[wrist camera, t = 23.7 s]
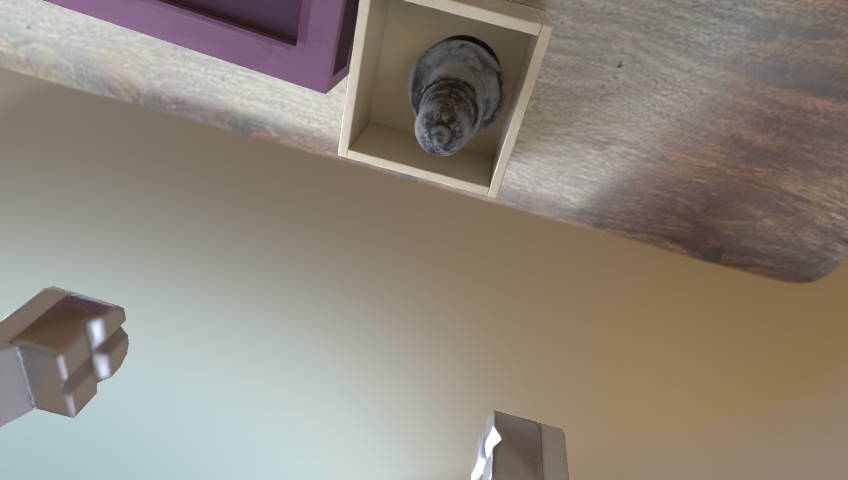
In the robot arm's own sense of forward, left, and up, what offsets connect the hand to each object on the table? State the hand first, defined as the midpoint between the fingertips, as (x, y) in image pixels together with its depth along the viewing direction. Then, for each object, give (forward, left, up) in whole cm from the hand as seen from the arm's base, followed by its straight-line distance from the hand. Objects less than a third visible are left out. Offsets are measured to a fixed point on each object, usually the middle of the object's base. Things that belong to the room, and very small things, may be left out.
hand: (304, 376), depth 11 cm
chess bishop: (-1, 0, -27) cm, 27 cm away
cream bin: (0, 0, -28) cm, 28 cm away
